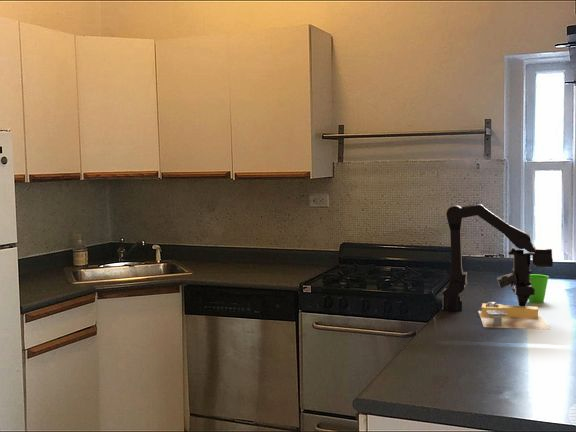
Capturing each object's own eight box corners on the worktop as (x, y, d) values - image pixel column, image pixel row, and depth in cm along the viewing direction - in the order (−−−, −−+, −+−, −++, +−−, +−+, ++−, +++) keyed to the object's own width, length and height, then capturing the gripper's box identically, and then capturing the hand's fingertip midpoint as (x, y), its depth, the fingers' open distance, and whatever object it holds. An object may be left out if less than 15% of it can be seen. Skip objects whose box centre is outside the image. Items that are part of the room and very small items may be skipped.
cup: (533, 307, 265) (533, 278, 264) (519, 302, 274) (519, 274, 273) (553, 305, 268) (554, 277, 267) (539, 301, 276) (539, 273, 276)
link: (537, 314, 248) (537, 306, 248) (538, 318, 242) (538, 310, 241) (482, 311, 254) (482, 303, 254) (481, 315, 247) (481, 307, 247)
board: (483, 329, 231) (483, 326, 231) (478, 313, 255) (478, 310, 255) (550, 332, 227) (550, 329, 227) (537, 315, 251) (538, 312, 251)
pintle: (487, 314, 249) (488, 303, 249) (487, 312, 252) (487, 301, 252) (496, 314, 249) (496, 303, 248) (495, 312, 252) (495, 301, 251)
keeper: (506, 326, 231) (507, 315, 230) (488, 326, 232) (488, 314, 231) (504, 321, 238) (504, 310, 237) (486, 321, 239) (486, 310, 238)
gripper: (495, 262, 259) (495, 304, 260) (501, 270, 241) (501, 315, 242) (526, 263, 257) (526, 304, 258) (535, 271, 239) (534, 316, 240)
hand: (521, 309), depth 250 cm, fingers closed
